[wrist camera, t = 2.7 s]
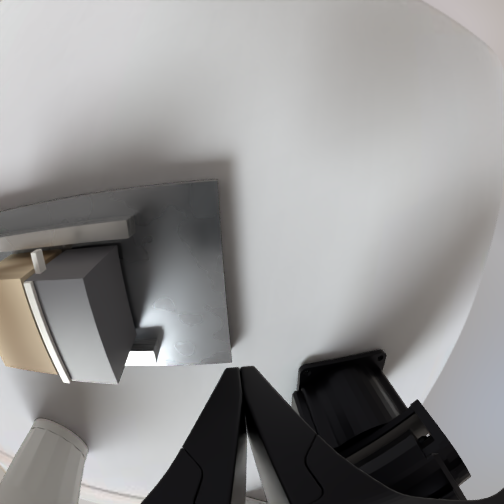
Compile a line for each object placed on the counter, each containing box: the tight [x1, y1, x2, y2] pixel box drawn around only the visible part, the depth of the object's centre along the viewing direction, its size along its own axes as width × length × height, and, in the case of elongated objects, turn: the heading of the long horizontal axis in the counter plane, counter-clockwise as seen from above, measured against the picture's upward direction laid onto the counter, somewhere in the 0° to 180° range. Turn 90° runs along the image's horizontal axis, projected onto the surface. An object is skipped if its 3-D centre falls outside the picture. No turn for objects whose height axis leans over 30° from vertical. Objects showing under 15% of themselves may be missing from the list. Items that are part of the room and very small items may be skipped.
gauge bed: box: [0, 179, 232, 366], centre depth 13 cm, size 21×10×2 cm, turn 92°
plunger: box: [23, 245, 137, 384], centre depth 11 cm, size 3×6×4 cm, turn 2°
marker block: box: [0, 249, 62, 375], centre depth 11 cm, size 4×5×4 cm
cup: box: [0, 418, 88, 504], centre depth 13 cm, size 8×8×12 cm
